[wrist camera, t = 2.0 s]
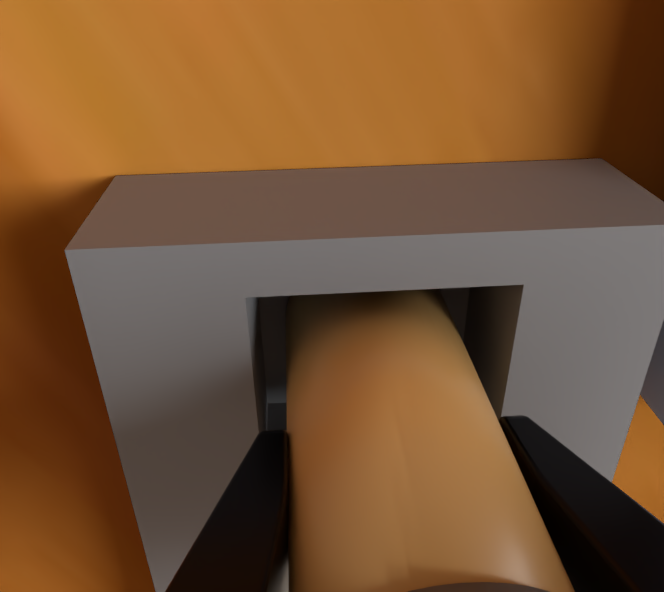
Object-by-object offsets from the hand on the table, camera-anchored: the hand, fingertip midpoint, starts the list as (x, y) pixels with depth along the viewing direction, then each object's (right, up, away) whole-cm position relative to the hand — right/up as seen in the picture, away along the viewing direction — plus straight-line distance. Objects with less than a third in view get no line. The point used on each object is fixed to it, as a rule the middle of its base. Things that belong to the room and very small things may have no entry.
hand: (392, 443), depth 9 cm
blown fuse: (0, +2, +3) cm, 4 cm away
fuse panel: (0, -1, +5) cm, 6 cm away
